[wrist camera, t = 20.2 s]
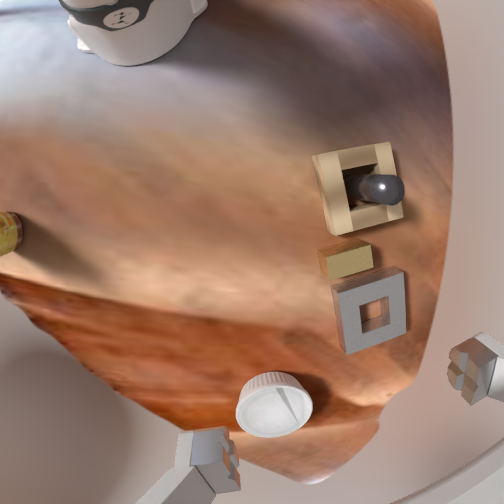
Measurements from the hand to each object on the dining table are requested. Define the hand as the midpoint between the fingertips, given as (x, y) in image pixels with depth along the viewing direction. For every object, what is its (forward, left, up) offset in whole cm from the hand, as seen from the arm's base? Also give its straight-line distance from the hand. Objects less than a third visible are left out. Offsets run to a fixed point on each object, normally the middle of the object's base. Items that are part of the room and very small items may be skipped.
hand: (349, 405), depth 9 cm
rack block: (-3, +14, -31) cm, 34 cm away
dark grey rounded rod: (-3, +14, -31) cm, 34 cm away
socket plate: (+15, +13, -31) cm, 37 cm away
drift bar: (+6, +10, -31) cm, 33 cm away
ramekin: (+25, -4, -31) cm, 40 cm away
